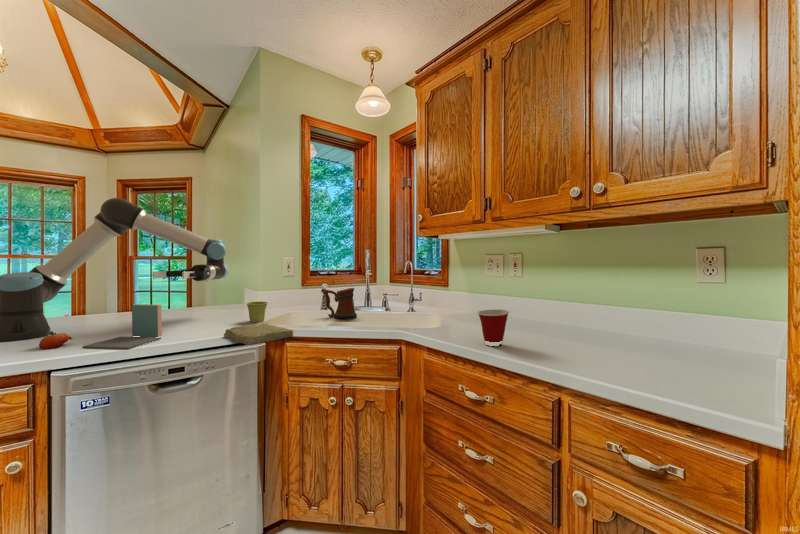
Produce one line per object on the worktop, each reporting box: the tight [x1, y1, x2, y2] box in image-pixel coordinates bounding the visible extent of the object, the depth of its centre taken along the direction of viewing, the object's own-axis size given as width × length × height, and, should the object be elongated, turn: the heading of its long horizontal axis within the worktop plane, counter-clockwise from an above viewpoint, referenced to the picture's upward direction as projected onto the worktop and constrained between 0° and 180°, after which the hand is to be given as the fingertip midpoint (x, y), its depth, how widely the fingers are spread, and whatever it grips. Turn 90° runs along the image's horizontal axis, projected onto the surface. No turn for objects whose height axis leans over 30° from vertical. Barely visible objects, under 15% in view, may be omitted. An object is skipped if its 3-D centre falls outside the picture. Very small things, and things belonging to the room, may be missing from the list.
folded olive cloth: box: [223, 323, 294, 346], centre depth 133 cm, size 19×20×4 cm
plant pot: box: [245, 301, 269, 323], centre depth 164 cm, size 9×9×9 cm
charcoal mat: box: [82, 336, 162, 350], centre depth 121 cm, size 16×14×1 cm
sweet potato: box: [38, 330, 73, 350], centre depth 117 cm, size 8×7×7 cm
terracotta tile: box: [131, 304, 163, 338], centre depth 131 cm, size 10×2×12 cm, turn 85°
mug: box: [320, 287, 358, 320], centre depth 176 cm, size 18×12×15 cm, turn 85°
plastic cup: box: [477, 308, 510, 342], centre depth 123 cm, size 11×11×12 cm
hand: (168, 275), depth 142 cm, fingers open, 12 cm apart
